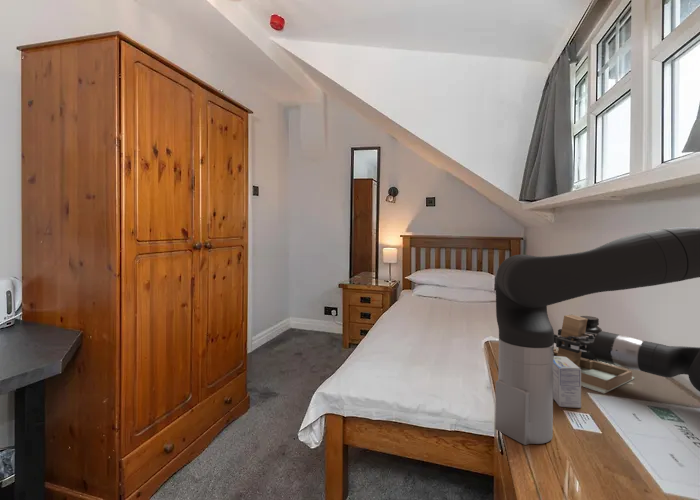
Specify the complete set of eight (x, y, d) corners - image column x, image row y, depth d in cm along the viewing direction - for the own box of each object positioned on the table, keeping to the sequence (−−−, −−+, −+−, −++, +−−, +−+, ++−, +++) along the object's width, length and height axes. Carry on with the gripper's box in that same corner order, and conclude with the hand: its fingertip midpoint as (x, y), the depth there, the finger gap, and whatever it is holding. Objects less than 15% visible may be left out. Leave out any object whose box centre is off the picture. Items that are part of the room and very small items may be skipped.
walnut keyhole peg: (572, 373, 92) (581, 321, 90) (550, 363, 97) (558, 314, 95) (584, 369, 95) (593, 319, 93) (561, 360, 100) (570, 313, 98)
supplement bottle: (569, 354, 108) (569, 315, 108) (585, 351, 110) (586, 314, 110) (590, 361, 101) (591, 320, 101) (607, 359, 103) (608, 319, 103)
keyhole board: (604, 393, 81) (604, 379, 81) (526, 367, 97) (526, 355, 97) (634, 378, 89) (635, 365, 89) (558, 357, 105) (558, 345, 105)
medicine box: (581, 409, 74) (582, 368, 74) (558, 407, 75) (559, 367, 75) (566, 392, 82) (567, 356, 81) (545, 391, 83) (546, 355, 82)
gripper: (634, 331, 88) (565, 318, 103) (606, 340, 81) (537, 324, 95) (633, 360, 89) (565, 343, 103) (606, 371, 81) (536, 351, 96)
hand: (551, 334), depth 99 cm, fingers open, 6 cm apart
